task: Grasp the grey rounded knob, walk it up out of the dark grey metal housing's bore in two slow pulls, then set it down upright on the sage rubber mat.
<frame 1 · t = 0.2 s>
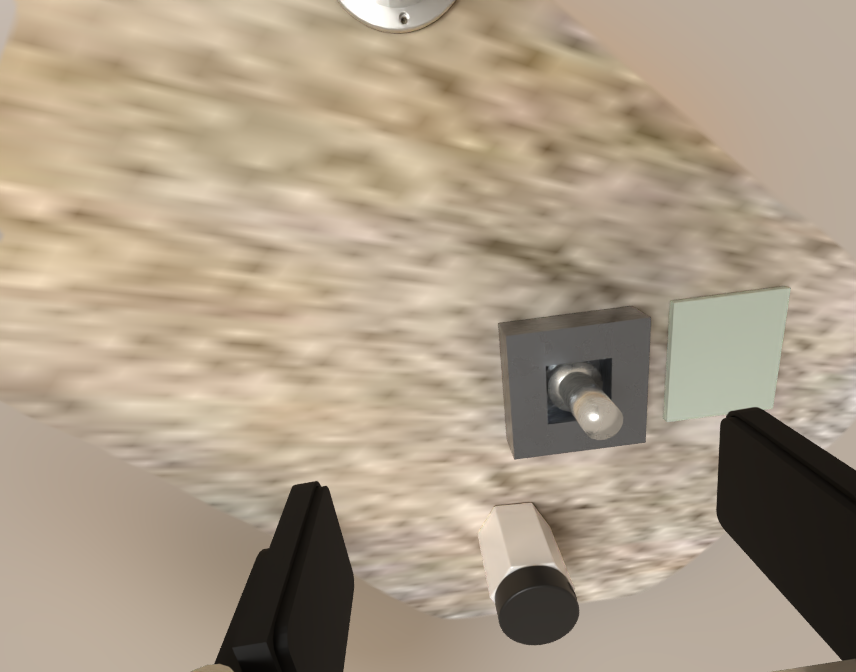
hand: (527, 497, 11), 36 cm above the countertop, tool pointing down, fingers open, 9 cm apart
mat: (721, 355, 50), on the countertop
grey rounded knob: (569, 379, 49), point 1 cm above the countertop, touching housing
housing: (566, 375, 50), on the countertop
jar: (512, 527, 57), on the countertop
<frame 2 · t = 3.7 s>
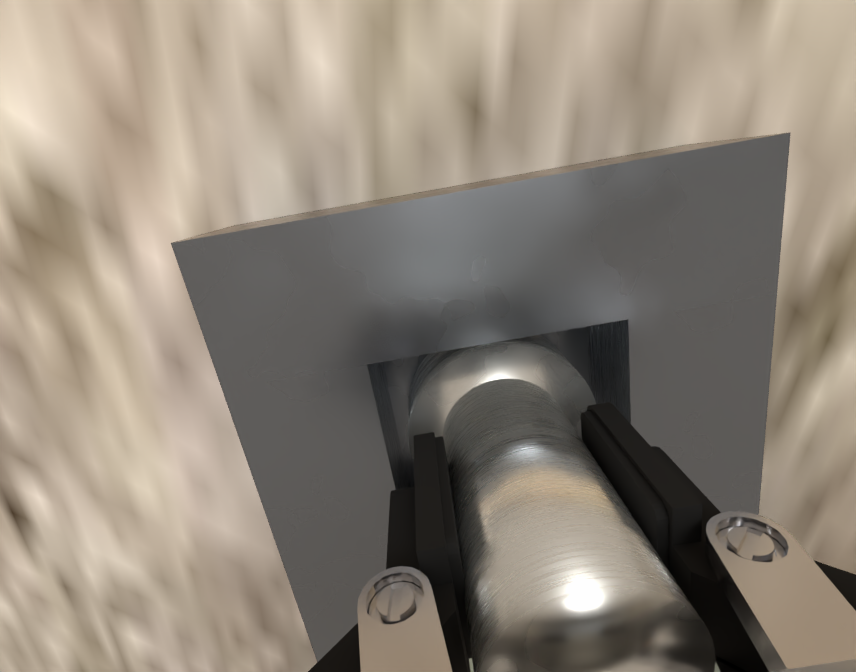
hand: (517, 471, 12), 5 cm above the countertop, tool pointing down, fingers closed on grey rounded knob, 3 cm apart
grey rounded knob: (492, 403, 15), point 1 cm above the countertop, touching gripper, housing
housing: (487, 390, 16), on the countertop
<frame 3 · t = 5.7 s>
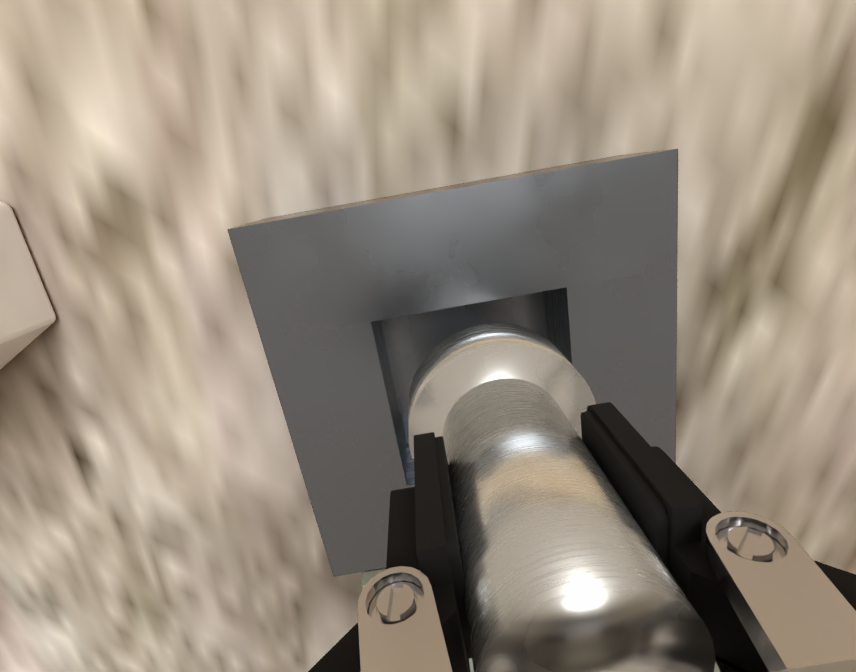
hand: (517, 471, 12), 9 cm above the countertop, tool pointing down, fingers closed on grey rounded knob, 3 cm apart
grey rounded knob: (492, 403, 15), point 5 cm above the countertop, touching gripper
housing: (466, 352, 20), on the countertop
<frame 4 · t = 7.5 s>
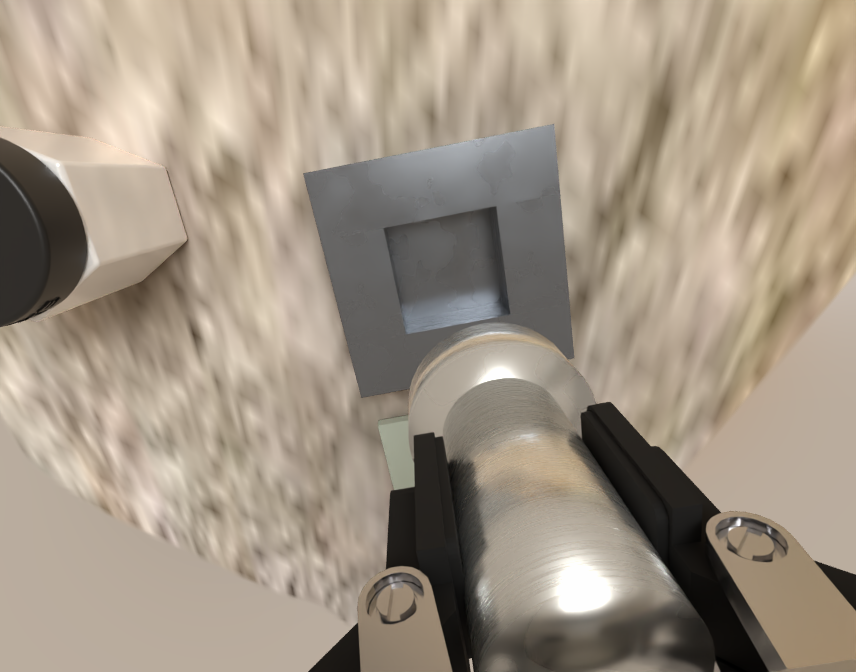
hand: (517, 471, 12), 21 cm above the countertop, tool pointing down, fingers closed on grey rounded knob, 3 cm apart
mat: (480, 469, 37), on the countertop
grey rounded knob: (492, 402, 15), point 18 cm above the countertop, touching gripper
housing: (444, 261, 31), on the countertop
jar: (120, 212, 30), on the countertop
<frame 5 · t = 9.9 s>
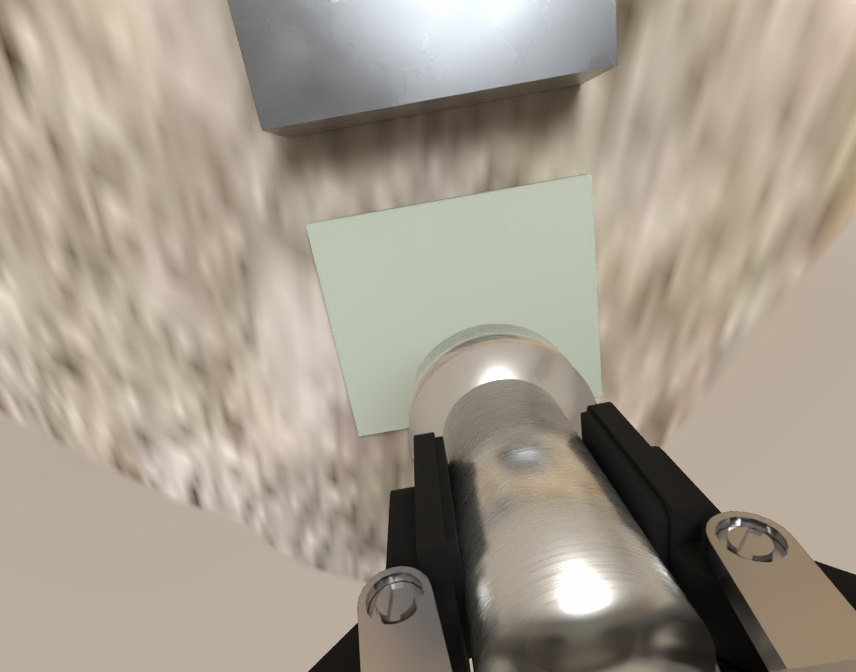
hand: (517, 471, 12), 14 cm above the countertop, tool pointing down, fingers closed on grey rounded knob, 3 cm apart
mat: (463, 312, 25), on the countertop
grey rounded knob: (492, 403, 15), point 10 cm above the countertop, touching gripper
when the fingers open (6 cm above the countertop, at t = 11.6 s): grey rounded knob drops 1 cm, resting on mat.
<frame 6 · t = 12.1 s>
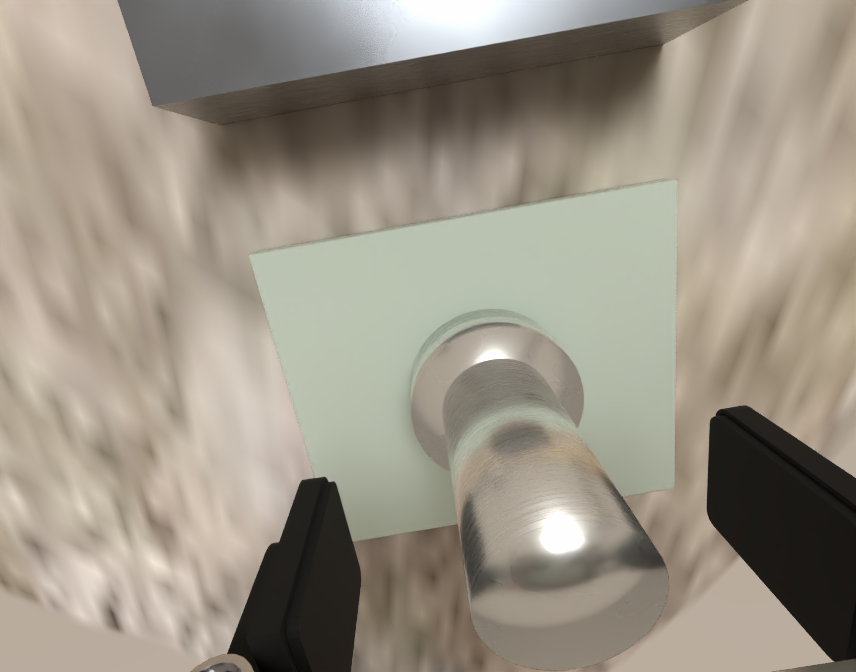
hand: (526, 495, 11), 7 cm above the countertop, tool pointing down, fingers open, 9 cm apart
mat: (481, 375, 18), on the countertop
grey rounded knob: (487, 382, 17), point 1 cm above the countertop, touching mat
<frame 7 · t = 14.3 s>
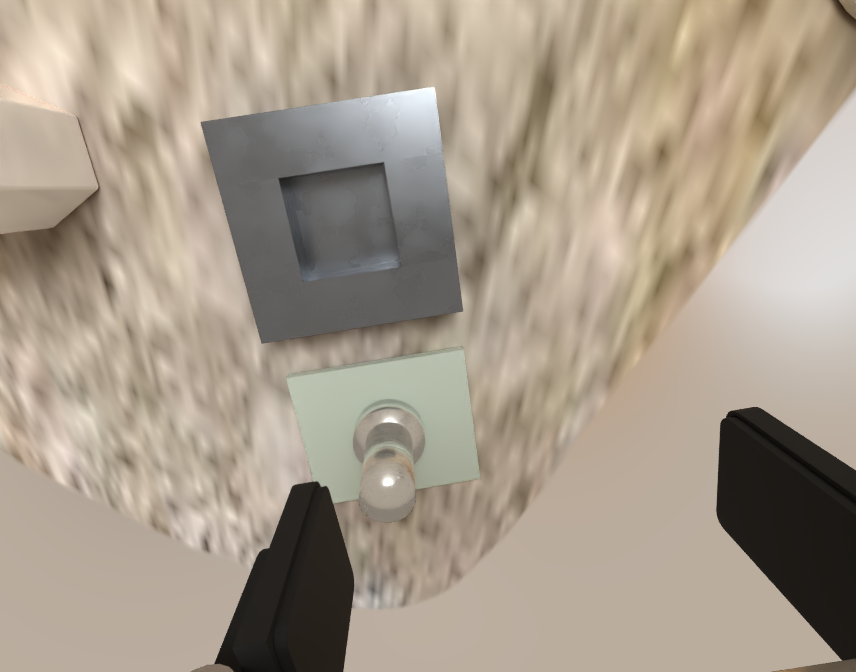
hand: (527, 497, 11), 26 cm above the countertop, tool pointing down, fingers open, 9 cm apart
mat: (388, 426, 39), on the countertop
grey rounded knob: (389, 430, 38), point 1 cm above the countertop, touching mat
housing: (348, 219, 33), on the countertop
jar: (32, 159, 31), on the countertop
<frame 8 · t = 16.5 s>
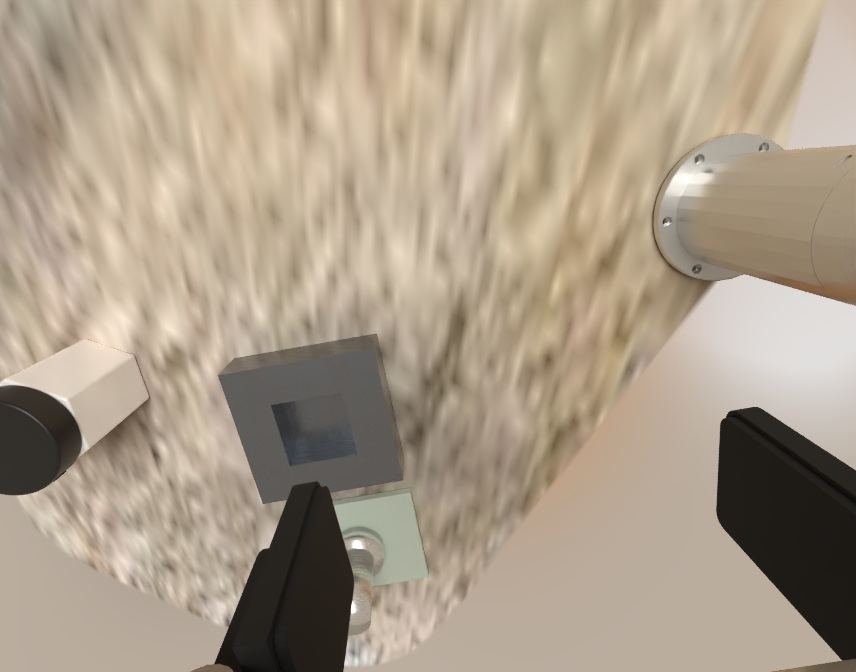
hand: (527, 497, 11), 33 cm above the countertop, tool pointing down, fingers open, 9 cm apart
mat: (358, 541, 52), on the countertop
grey rounded knob: (358, 546, 51), point 1 cm above the countertop, touching mat
housing: (322, 409, 47), on the countertop
jar: (104, 380, 45), on the countertop
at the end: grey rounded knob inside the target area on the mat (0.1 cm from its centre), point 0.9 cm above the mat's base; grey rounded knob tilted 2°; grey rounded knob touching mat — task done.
